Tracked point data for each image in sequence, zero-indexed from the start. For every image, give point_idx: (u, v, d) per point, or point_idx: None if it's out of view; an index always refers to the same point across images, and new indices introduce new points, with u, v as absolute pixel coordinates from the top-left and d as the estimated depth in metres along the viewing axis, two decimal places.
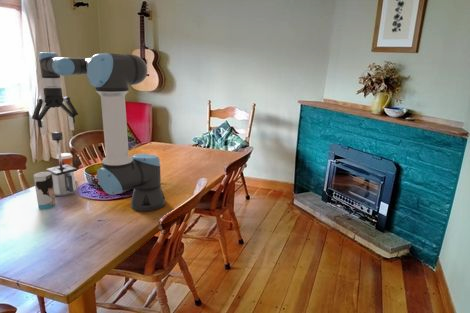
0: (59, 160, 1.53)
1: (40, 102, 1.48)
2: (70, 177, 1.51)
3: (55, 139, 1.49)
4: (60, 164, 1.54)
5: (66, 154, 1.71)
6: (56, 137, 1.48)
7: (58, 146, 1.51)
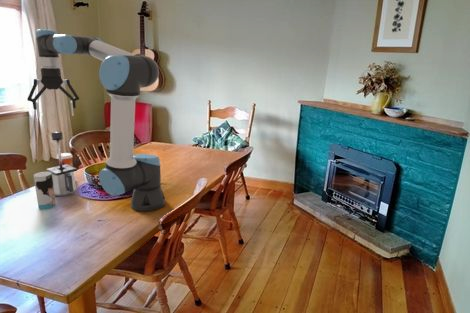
0: (59, 160, 1.53)
1: (34, 82, 1.40)
2: (70, 177, 1.51)
3: (55, 139, 1.49)
4: (60, 164, 1.54)
5: (66, 154, 1.71)
6: (56, 137, 1.48)
7: (58, 146, 1.51)
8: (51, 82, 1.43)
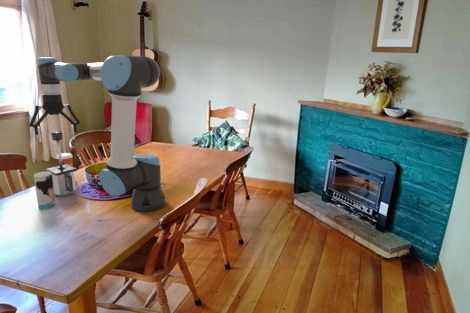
0: (59, 160, 1.53)
1: (36, 109, 1.43)
2: (70, 177, 1.51)
3: (55, 139, 1.49)
4: (60, 164, 1.54)
5: (66, 154, 1.71)
6: (56, 137, 1.48)
7: (58, 146, 1.51)
8: (52, 108, 1.46)
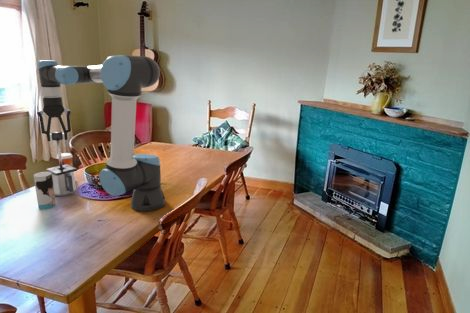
0: (59, 160, 1.53)
1: (39, 115, 1.44)
2: (70, 177, 1.51)
3: (55, 139, 1.49)
4: (60, 164, 1.54)
5: (66, 154, 1.71)
6: (56, 137, 1.48)
7: (58, 146, 1.51)
8: (53, 110, 1.46)
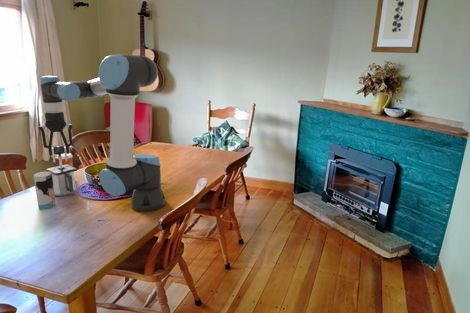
0: None
1: (41, 130, 1.46)
2: (70, 177, 1.51)
3: (57, 153, 1.51)
4: None
5: None
6: (58, 151, 1.50)
7: (60, 160, 1.53)
8: (55, 125, 1.48)
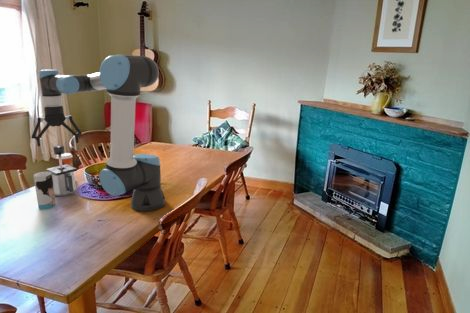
0: None
1: (38, 121, 1.44)
2: (70, 177, 1.51)
3: (57, 153, 1.51)
4: None
5: (66, 154, 1.71)
6: (58, 151, 1.50)
7: (60, 160, 1.53)
8: (54, 119, 1.47)
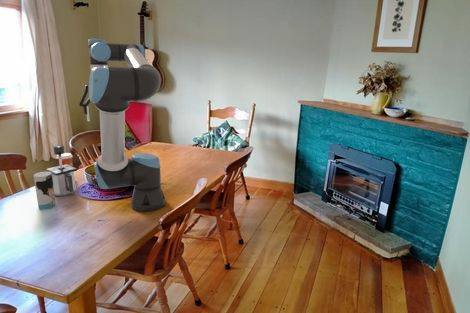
0: None
1: (86, 89, 1.49)
2: (70, 177, 1.51)
3: (57, 153, 1.51)
4: None
5: (66, 154, 1.71)
6: (58, 151, 1.50)
7: (60, 160, 1.53)
8: None
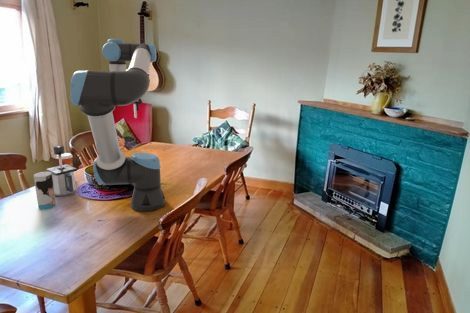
0: None
1: None
2: (70, 177, 1.51)
3: (57, 153, 1.51)
4: None
5: (66, 154, 1.71)
6: (58, 151, 1.50)
7: (60, 160, 1.53)
8: None
